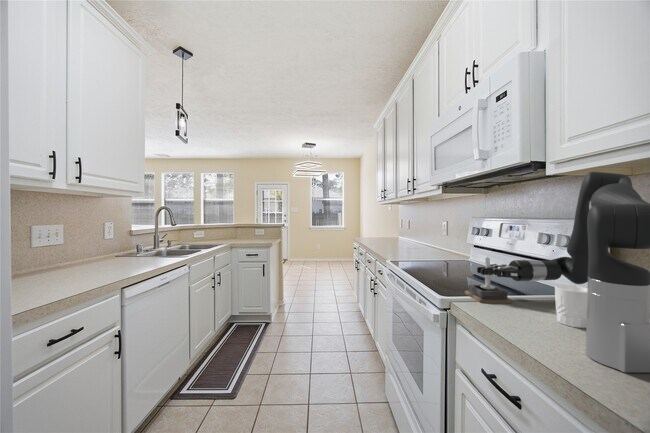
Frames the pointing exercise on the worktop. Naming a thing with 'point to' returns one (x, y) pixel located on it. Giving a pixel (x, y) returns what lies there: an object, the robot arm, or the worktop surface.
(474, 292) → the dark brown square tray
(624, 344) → the robot arm
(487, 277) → the screw
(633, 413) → the worktop surface
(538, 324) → the worktop surface
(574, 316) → the white cup
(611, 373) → the worktop surface
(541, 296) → the worktop surface
